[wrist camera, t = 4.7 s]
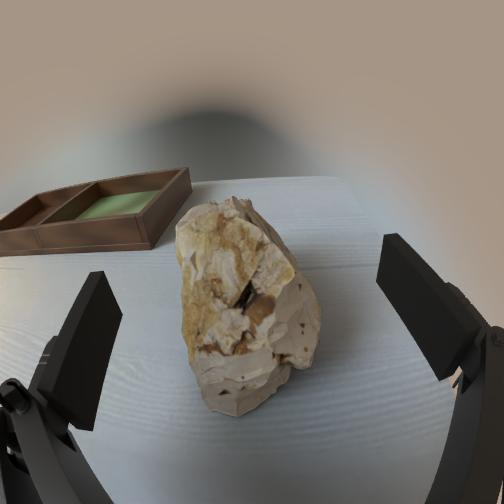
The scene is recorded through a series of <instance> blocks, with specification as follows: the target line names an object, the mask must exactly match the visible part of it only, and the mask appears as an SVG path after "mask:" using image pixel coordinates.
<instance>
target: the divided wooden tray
mask: <svg viewBox="0 0 504 504" xmlns="http://www.w3.org/2000/svg"><path fill="white" fill-rule="evenodd" d="M191 192H192V186H191V181H190V175H189V169H188V167H184V168H175V169H168V170H160V171H153V172H146V173H139V174H133V175H127V176H120V177H115V178H109V179H104V180H99V181H93V182H88V183H83V184H78V185H73V186H69V187H64V188H60V189H56V190H51V191H47V192H43V193H39V194H36V195H34V196H33V197H32V198H30V199H29V200H27V201H26V202H24V203H23V204H21V205H20V206H18V207H17V208H16V209H14V210H13V211H12V212H10V213H9V214H7V215H6V216H5V217H3V218H2V219H1V220H0V257H2V256H22V255H42V254H63V253H85V252H108V251H131V250H152V248H153V247H154V245H155V244H156V242H157V241H158V239H159V238H160V236H161V235H162V233H163V232H164V230H165V229H166V227H167V226H168V225H169V223H170V222H171V220H172V219H173V217H174V216H175V215H176V213H177V212H178V210H179V209H180V207H181V206H182V205H183V203H184V202H185V200H186V199H187V198H188V196H189V195H190V194H191Z"/></svg>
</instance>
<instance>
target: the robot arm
mask: <svg viewBox="0 0 504 504" xmlns="http://www.w3.org/2000/svg"><path fill="white" fill-rule="evenodd" d="M376 282H377V284H378V285H379V286H380V288H381V289H382V291H383V292H384V294H385V295H386V297H387V298H388V300H389V301H390V303H391V304H392V306H393V307H394V309H395V310H396V312H397V313H398V315H399V316H400V318H401V319H402V321H403V322H404V324H405V325H406V327H407V329H408V330H409V332H410V333H411V335H412V337H413V338H414V340H415V341H416V343H417V345H418V346H419V348H420V349H421V351H422V353H423V354H424V356H425V358H426V359H427V361H428V363H429V365H430V366H431V368H432V370H433V371H434V373H435V375H436V377H437V378H438V380H439V381H441V380H443V379H445V378H448V377H450V376H452V375H453V374H454V373H455V371H456V370H457V368H458V367H459V366H460V368H461V369H462V372H461V374H460V375H459V377H458V378H457V380H456V381H455V382H454V384H453V386H452V388H455V387H456V385H457V384H458V383H459V384H458V388H457V389H458V390H457V396H456V401H455V406H454V411H453V416H452V421H451V425H450V429H449V433H448V437H447V441H446V444H445V448H444V451H443V455H442V458H441V461H440V464H439V467H438V470H437V473H436V476H435V479H434V482H433V485H432V487H431V490H430V492H429V495H428V497H427V500H426V502H425V504H496V503H497V500H498V496H499V493H500V489H501V485H502V481H503V488H502V501H501V504H504V329H503V328H501V327H498V326H493V327H491V326H490V325H489V324H488V323H487V322H486V320H485V319H484V318H483V317H482V315H481V314H480V313H479V312H478V311H477V309H476V308H475V307H474V306H473V305H472V304H471V303H470V301H469V300H468V299H467V298H465V295H464V294H463V293H462V292H461V291H460V290H459V289H458V288H457V287H455V286H454V285H452V284H451V283H449V282H448V283H445V282H444V281H443V280H442V279H441V278H440V277H439V276H438V275H437V273H436V272H435V271H434V270H433V269H432V268H431V267H430V266H429V265H428V264H427V263H426V262H425V261H424V260H423V259H422V258H421V257H420V255H419V254H418V253H417V252H416V251H415V250H414V249H413V248H412V247H411V246H410V245H409V244H408V243H407V242H406V241H405V240H404V239H402V237H400V235H398V234H397V233H394V234H386V235H384V238H383V245H382V251H381V257H380V263H379V268H378V273H377V279H376ZM122 316H123V314H122V312H121V310H120V308H119V306H118V303H117V301H116V299H115V297H114V294H113V292H112V290H111V287H110V285H109V283H108V280H107V278H106V275H105V273H104V271H98V272H90V274H89V275H88V277H87V279H86V281H85V283H84V285H83V286H82V288H81V290H80V292H79V294H78V296H77V298H76V300H75V302H74V304H73V306H72V308H71V310H70V312H69V314H68V316H67V318H66V320H65V322H64V324H63V326H62V328H61V330H60V333H59V335H58V336H53V338H52V339H51V340H50V341H49V342H48V343H47V345H46V347H45V349H44V351H43V354H42V356H41V358H40V360H39V364H38V365H37V368H36V370H35V373H34V375H33V378H32V380H31V383H30V385H29V388H28V390H27V389H26V388H25V387H24V386H23V385H22V383H21V382H20V381H19V380H17V379H16V378H10V379H8V380H6V381H4V382H3V383H2V384H1V386H0V404H1V405H2V406H3V407H0V504H114V503H113V501H112V500H111V499H110V497H109V496H108V494H107V493H106V491H105V490H104V488H103V487H102V485H101V484H100V482H99V481H98V479H97V478H96V476H95V474H94V473H93V471H92V469H91V468H90V466H89V464H88V463H87V461H86V459H85V457H84V456H83V454H82V452H81V450H80V448H79V446H78V445H77V443H76V441H75V439H74V437H73V435H72V433H71V432H70V430H69V429H68V425H69V422H70V423H71V424H72V425H73V426H74V427H75V428H76V429H79V430H86V431H93V428H94V423H95V418H96V413H97V409H98V404H99V400H100V395H101V391H102V387H103V383H104V379H105V375H106V371H107V367H108V363H109V360H110V356H111V352H112V349H113V345H114V342H115V339H116V335H117V332H118V329H119V325H120V322H121V319H122ZM7 447H9V448H10V451H11V452H10V454H9V453H7Z"/></svg>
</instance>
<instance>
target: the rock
mask: <svg viewBox="0 0 504 504" xmlns="http://www.w3.org/2000/svg"><path fill="white" fill-rule="evenodd" d="M175 248H176V254H177V258H178V262H179V264H180V266H181V269H182V277H183V283H182V292H181V298H182V308H183V324H182V334H183V338H184V340H185V342H186V344H187V347H188V354H189V364H190V366H191V368H192V370H193V372H194V373H195V375H196V378H197V382H198V384H199V386H200V388H201V392H202V397H203V399H204V401H205V402H206V404H207V406H208V407H209V409H211V410H212V412H214V411H219V412H221V413H223V414H226V415H230V416H236V417H240V416H242V415H243V414H245V413H246V412H248V411H251V410H254V409H255V408H256V407H257V406H258V405H259V404H261V403H262V402H263V401H265V400H266V399H267V398H268V397H269V396H270V395H271V394H274V393H276V390H277V387H278V386H280V385H282V384H285V383H286V382H287V380H288V378H289V375H290V370H291V367H295V368H297V369H301V370H304V369H306V368H309V367H310V366H311V364H312V363H313V355H314V351H315V348H316V346H317V345H318V344H319V343H320V342H319V339H318V337H319V333H320V328H321V317H320V315H321V312H322V308H321V306H320V305H319V304H318V302H317V299H316V295H315V292H314V290H313V288H312V286H311V284H310V283H309V282H308V280H307V279H306V278H305V277H304V276H303V275H301V274H299V271H298V268H297V263H296V260H295V258H294V257H293V255H292V254H291V252H290V251H289V250H288V248H287V247H286V246H285V245H284V243H283V241H282V239H281V238H280V236H279V235H278V234H277V232H276V231H275V230H274V228H273V227H272V226H270V225H269V224H268V223H267V222H266V221H265V220H264V219H263V218H262V217H261V216H260V215H259V214H258V213H257V212H256V211H255V210H254V208H253V206H252V202H251V200H249V199H245V200H243V199H241V200H238V199H237V198H236V197H234V196H232V197H231V198H229V199H228V200H225V201H224V202H222V203H221V204H218V205H217V203H216V201H211V202H208V203H204V204H201V205H198V206H195V207H193V208H191V209H190V210H189V211H188V212H187V213H186V214H185V215H184V216H183V217H182V218H181V219H180V221H179V223H178V224H176V242H175Z"/></svg>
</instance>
